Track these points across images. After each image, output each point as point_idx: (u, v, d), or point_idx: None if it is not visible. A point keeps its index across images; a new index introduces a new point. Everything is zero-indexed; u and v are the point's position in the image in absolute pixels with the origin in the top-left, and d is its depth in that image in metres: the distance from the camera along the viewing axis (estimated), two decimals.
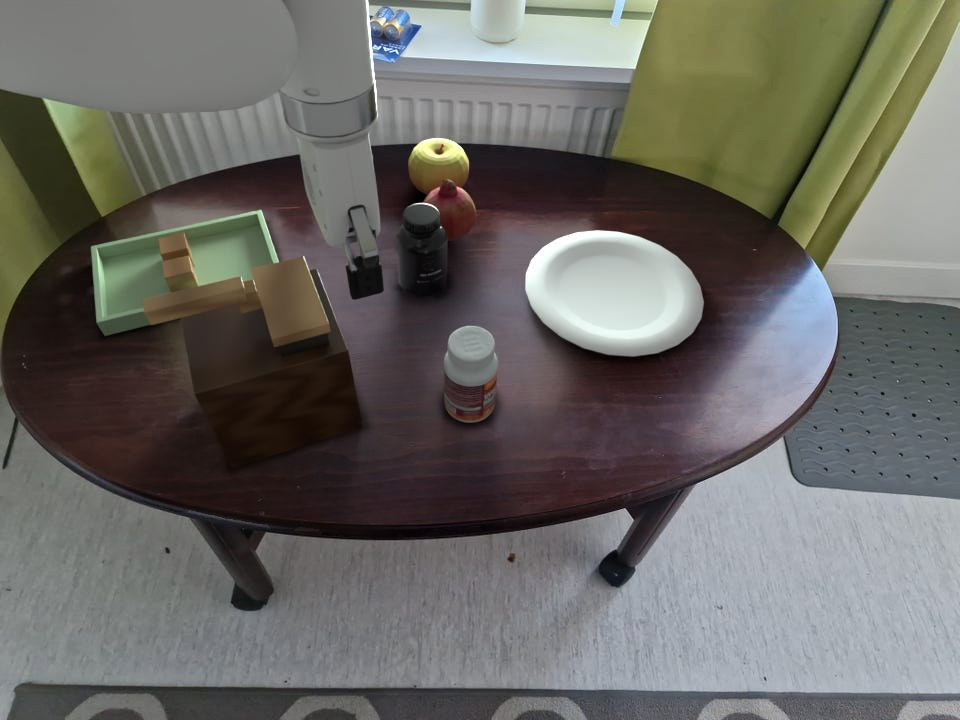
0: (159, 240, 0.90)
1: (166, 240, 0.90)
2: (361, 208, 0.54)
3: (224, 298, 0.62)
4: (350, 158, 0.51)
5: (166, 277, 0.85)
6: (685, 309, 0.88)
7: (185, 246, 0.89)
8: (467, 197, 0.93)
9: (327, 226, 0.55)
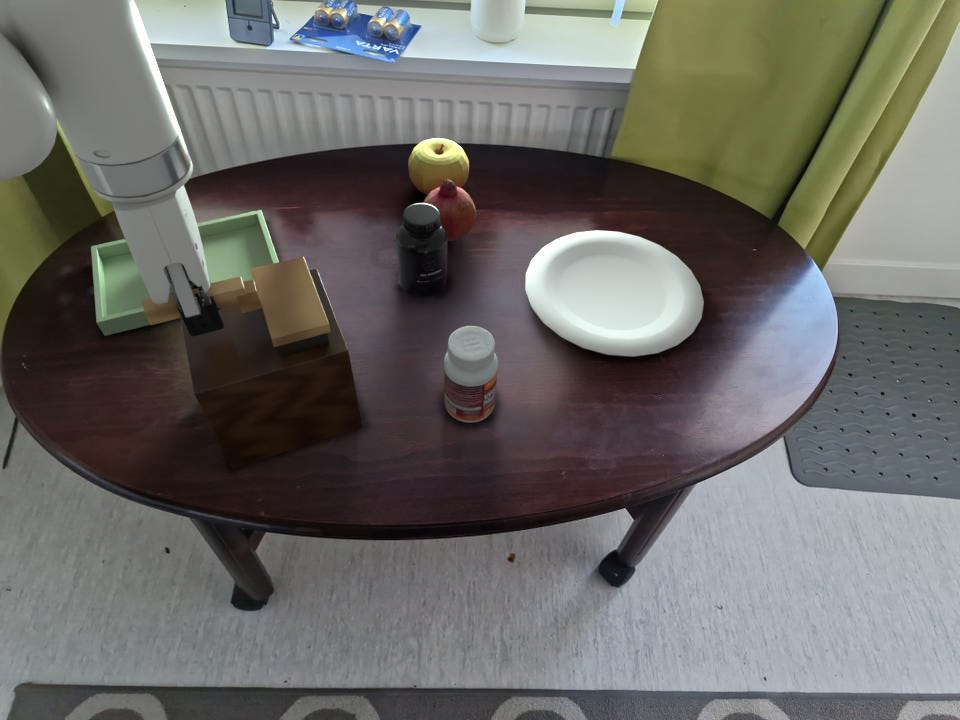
0: None
1: None
2: (182, 272, 0.53)
3: (224, 298, 0.62)
4: (154, 218, 0.49)
5: None
6: (685, 309, 0.88)
7: None
8: (467, 197, 0.93)
9: (145, 284, 0.53)
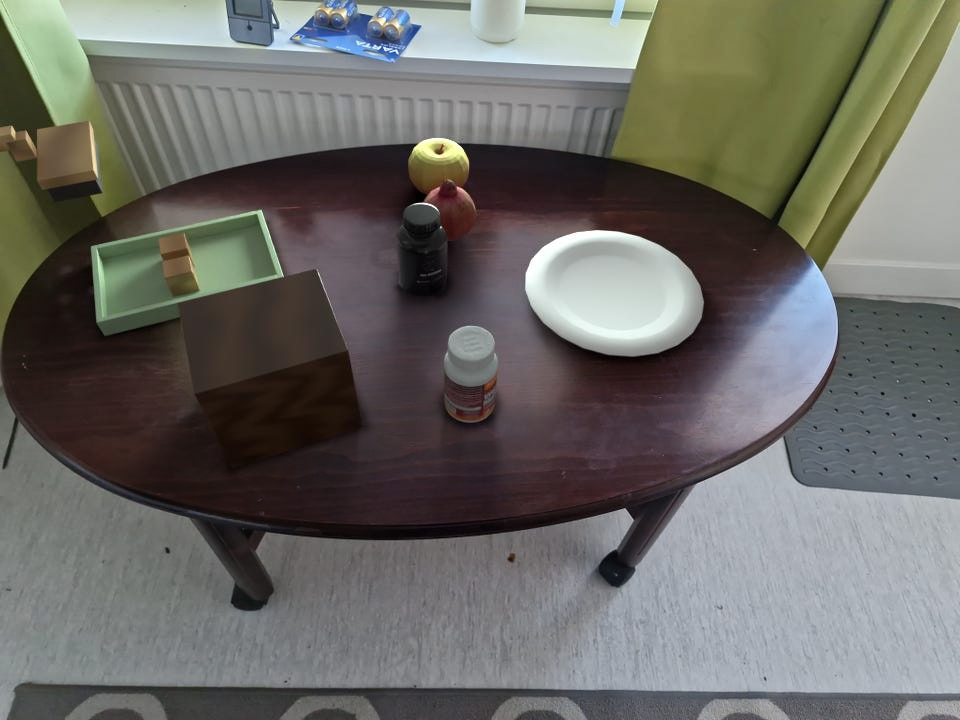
0: (159, 240, 0.90)
1: (166, 240, 0.90)
2: None
3: None
4: None
5: (166, 277, 0.85)
6: (685, 309, 0.88)
7: (185, 246, 0.89)
8: (467, 197, 0.93)
9: None
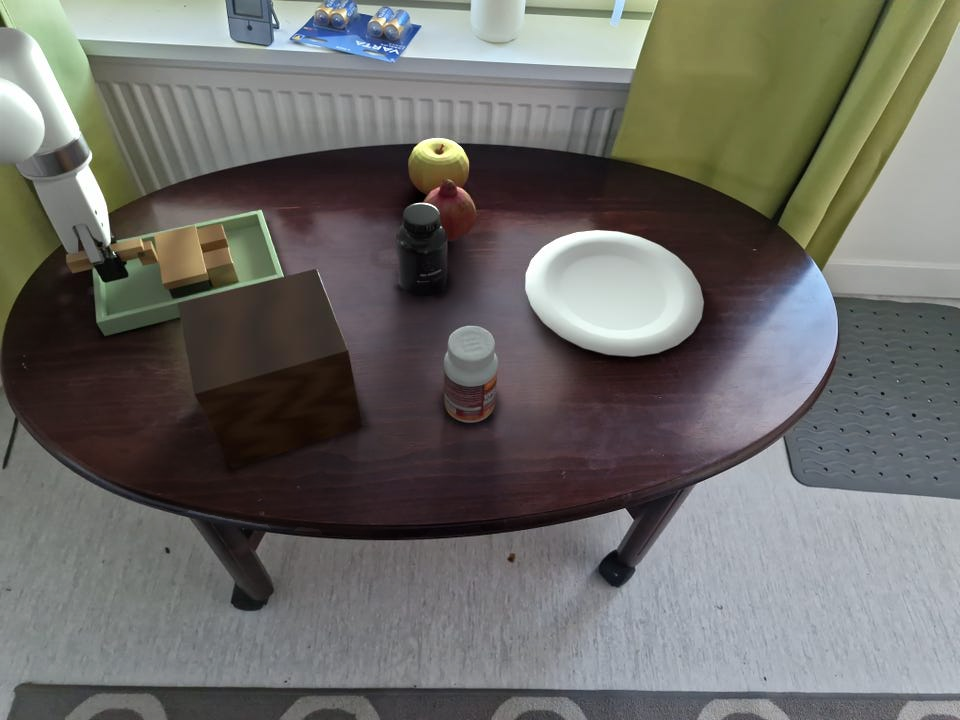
0: (198, 231, 0.91)
1: (204, 231, 0.91)
2: (86, 230, 0.76)
3: (127, 254, 0.84)
4: (62, 191, 0.71)
5: (207, 268, 0.86)
6: (685, 309, 0.88)
7: (223, 236, 0.91)
8: (467, 197, 0.93)
9: (60, 239, 0.75)
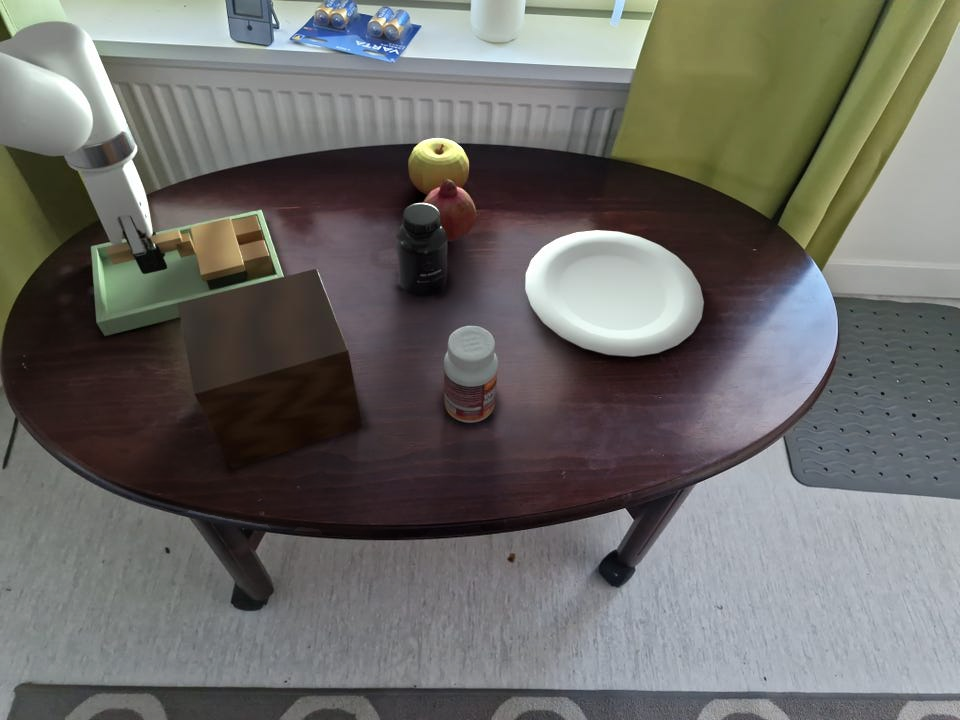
0: (233, 222, 0.93)
1: (239, 222, 0.93)
2: (131, 222, 0.77)
3: (166, 245, 0.85)
4: (109, 182, 0.73)
5: (244, 260, 0.88)
6: (685, 309, 0.88)
7: (258, 228, 0.92)
8: (467, 197, 0.93)
9: (105, 230, 0.77)
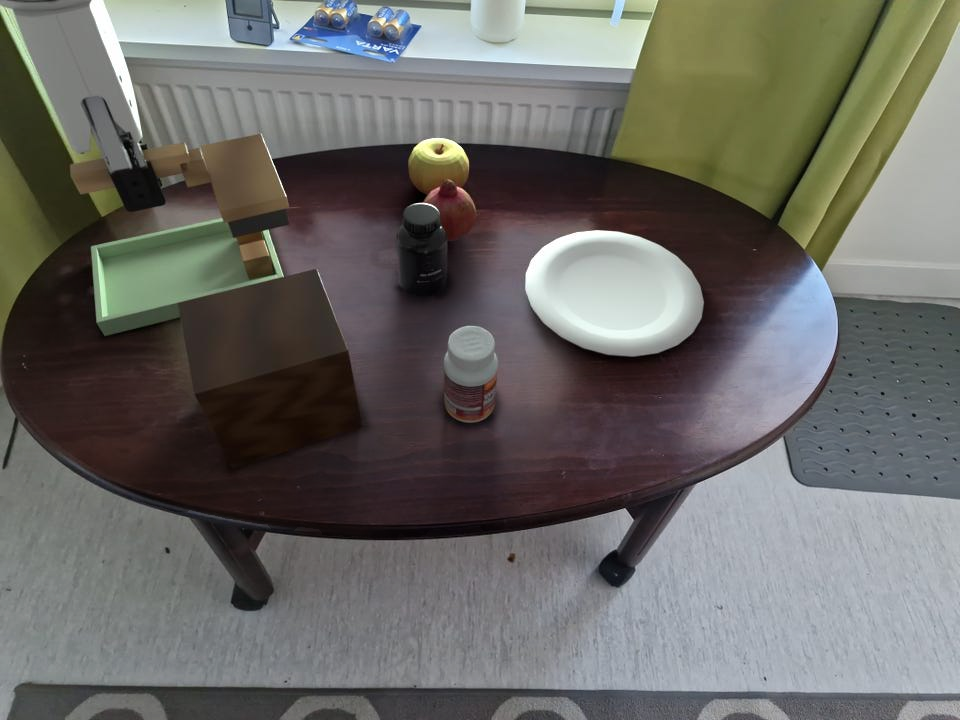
0: None
1: None
2: (105, 111, 0.46)
3: (165, 165, 0.54)
4: (65, 30, 0.41)
5: (244, 260, 0.88)
6: (685, 309, 0.88)
7: None
8: (467, 197, 0.93)
9: (61, 124, 0.45)
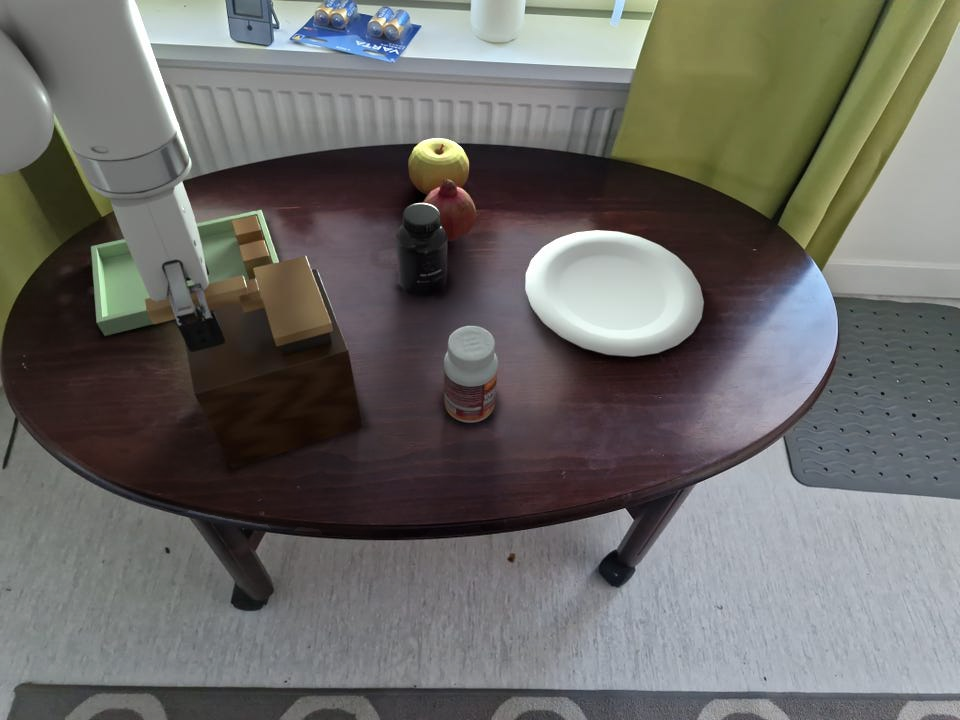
0: (233, 222, 0.93)
1: (239, 222, 0.93)
2: (177, 263, 0.52)
3: (226, 298, 0.62)
4: (153, 214, 0.49)
5: (244, 260, 0.88)
6: (685, 309, 0.88)
7: (258, 228, 0.92)
8: (467, 197, 0.93)
9: (143, 281, 0.52)
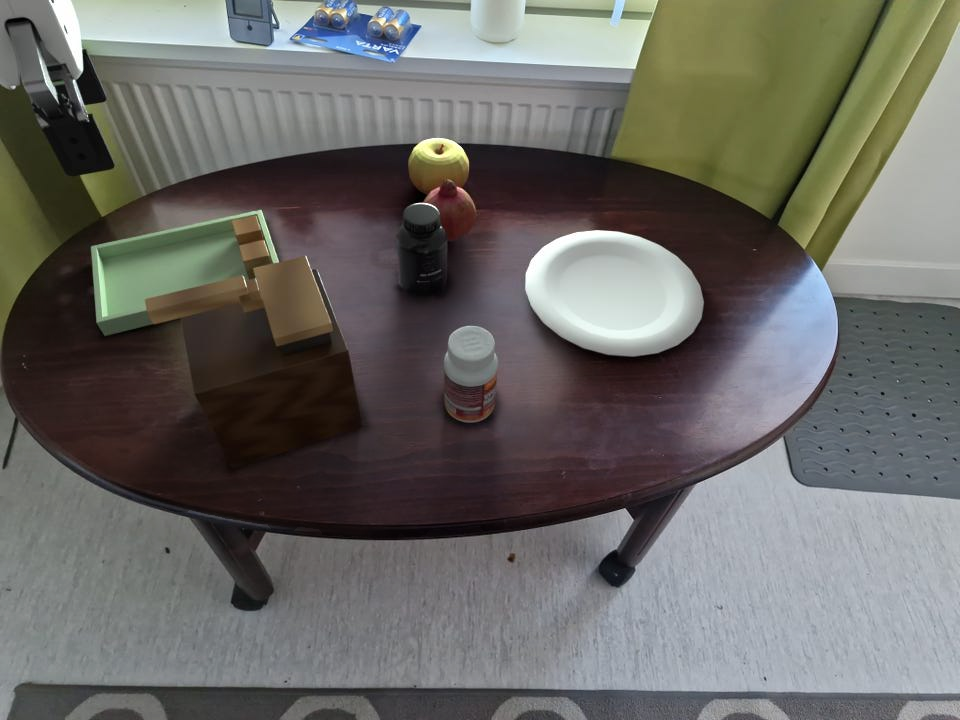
0: (233, 222, 0.93)
1: (239, 222, 0.93)
2: (26, 23, 0.38)
3: (226, 298, 0.62)
4: None
5: (244, 260, 0.88)
6: (685, 309, 0.88)
7: (258, 228, 0.92)
8: (467, 197, 0.93)
9: None
